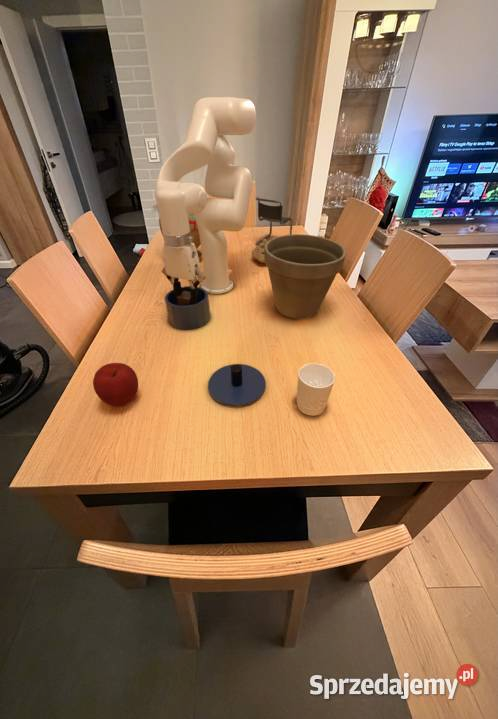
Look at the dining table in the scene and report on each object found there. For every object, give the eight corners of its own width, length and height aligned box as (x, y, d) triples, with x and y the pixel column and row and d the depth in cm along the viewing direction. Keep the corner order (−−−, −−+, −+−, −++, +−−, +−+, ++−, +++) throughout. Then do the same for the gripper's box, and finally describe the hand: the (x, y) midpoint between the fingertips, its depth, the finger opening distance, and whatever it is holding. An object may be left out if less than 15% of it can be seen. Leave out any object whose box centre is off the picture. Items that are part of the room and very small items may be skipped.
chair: (254, 245, 153) (254, 197, 139) (270, 235, 165) (271, 190, 150) (276, 249, 148) (279, 200, 134) (291, 239, 159) (295, 193, 145)
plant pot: (349, 314, 102) (364, 252, 88) (291, 337, 93) (298, 270, 79) (302, 286, 119) (309, 229, 105) (249, 302, 109) (249, 242, 95)
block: (186, 302, 101) (184, 290, 98) (197, 305, 99) (196, 293, 96) (178, 309, 98) (176, 296, 95) (190, 311, 96) (188, 299, 93)
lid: (224, 361, 84) (222, 343, 80) (273, 375, 80) (274, 357, 76) (198, 397, 74) (194, 379, 70) (252, 415, 70) (252, 396, 65)
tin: (183, 305, 108) (180, 283, 102) (217, 312, 104) (215, 290, 98) (161, 324, 98) (156, 301, 93) (197, 333, 94) (194, 310, 89)
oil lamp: (253, 268, 132) (254, 250, 127) (250, 255, 143) (250, 238, 138) (278, 267, 133) (279, 249, 127) (272, 254, 144) (273, 237, 139)
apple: (121, 421, 69) (107, 391, 62) (94, 404, 72) (78, 374, 66) (151, 395, 75) (141, 365, 68) (124, 381, 78) (113, 351, 72)
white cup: (291, 394, 75) (295, 364, 68) (322, 392, 75) (329, 362, 69) (297, 419, 69) (302, 389, 62) (331, 416, 69) (339, 386, 63)
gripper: (210, 238, 84) (215, 296, 96) (160, 231, 89) (170, 286, 101) (197, 247, 79) (204, 307, 91) (144, 239, 84) (157, 297, 96)
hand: (186, 296), depth 96 cm, fingers open, 5 cm apart
